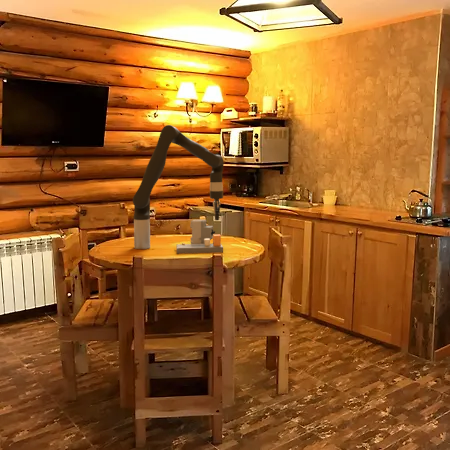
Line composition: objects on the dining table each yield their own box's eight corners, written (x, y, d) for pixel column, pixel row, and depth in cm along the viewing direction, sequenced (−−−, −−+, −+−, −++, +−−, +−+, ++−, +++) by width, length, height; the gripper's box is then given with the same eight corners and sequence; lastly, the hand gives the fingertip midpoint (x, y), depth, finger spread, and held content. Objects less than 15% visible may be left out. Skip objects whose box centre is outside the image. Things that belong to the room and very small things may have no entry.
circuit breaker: (213, 246, 310) (213, 221, 308) (190, 245, 313) (190, 221, 311) (216, 243, 317) (215, 220, 315) (193, 243, 320) (193, 219, 318)
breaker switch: (204, 245, 293) (204, 239, 292) (204, 244, 297) (204, 238, 296) (210, 245, 293) (210, 239, 293) (209, 244, 297) (209, 238, 297)
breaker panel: (177, 253, 287) (177, 246, 287) (176, 249, 299) (176, 243, 298) (223, 252, 291) (223, 245, 290) (220, 248, 302) (220, 242, 302)
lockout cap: (213, 245, 293) (213, 235, 293) (212, 244, 297) (213, 234, 296) (220, 245, 294) (220, 235, 293) (219, 244, 298) (219, 234, 297)
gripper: (224, 190, 286) (224, 221, 288) (221, 189, 299) (222, 218, 301) (211, 191, 285) (211, 221, 287) (208, 189, 298) (209, 218, 300)
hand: (217, 220), depth 294 cm, fingers closed
